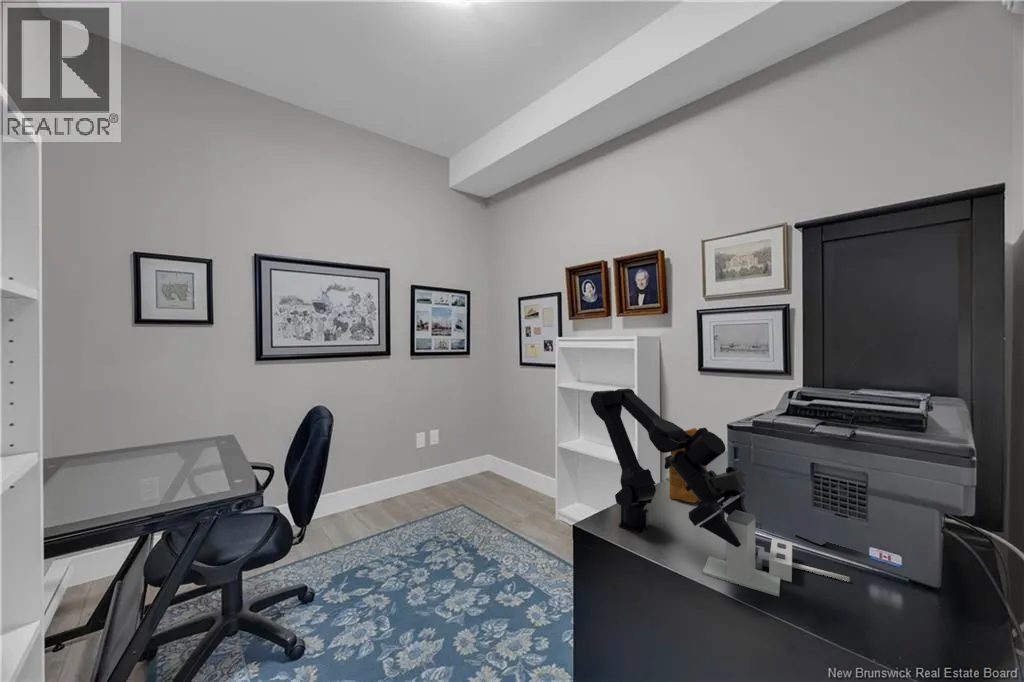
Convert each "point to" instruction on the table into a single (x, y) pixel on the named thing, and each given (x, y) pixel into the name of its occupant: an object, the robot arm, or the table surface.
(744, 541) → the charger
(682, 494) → the coffee package
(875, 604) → the table surface
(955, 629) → the table surface
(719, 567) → the sage mat
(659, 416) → the robot arm
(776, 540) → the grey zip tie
